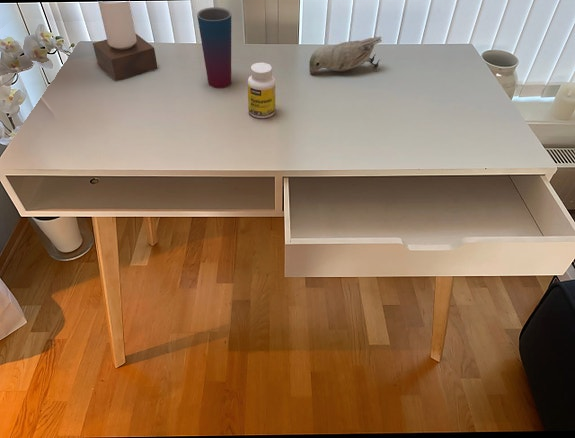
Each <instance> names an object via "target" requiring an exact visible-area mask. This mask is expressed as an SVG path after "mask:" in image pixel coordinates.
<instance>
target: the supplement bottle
mask: <svg viewBox="0 0 575 438" xmlns="http://www.w3.org/2000/svg"><path fill="white" fill-rule="evenodd" d="M247 105H248V106H247V109H248V113H249V114H250V115H251V116H252V117H254V118H256V119H267V118H271V117H272V116H273V115H274V114H275V112H276V79H275V77H274V76H273V66H272V65H271V64H269V63H266V62H255V63H253V64H252V65H251V66H250V75H249V77H248V79H247Z"/></svg>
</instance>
